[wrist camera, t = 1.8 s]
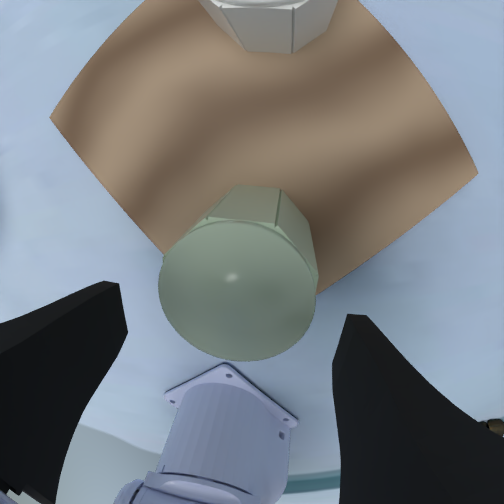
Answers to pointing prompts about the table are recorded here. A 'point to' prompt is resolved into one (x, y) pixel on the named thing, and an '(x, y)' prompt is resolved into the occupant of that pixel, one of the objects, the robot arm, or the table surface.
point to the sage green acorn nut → (242, 276)
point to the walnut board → (265, 128)
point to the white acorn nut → (271, 22)
